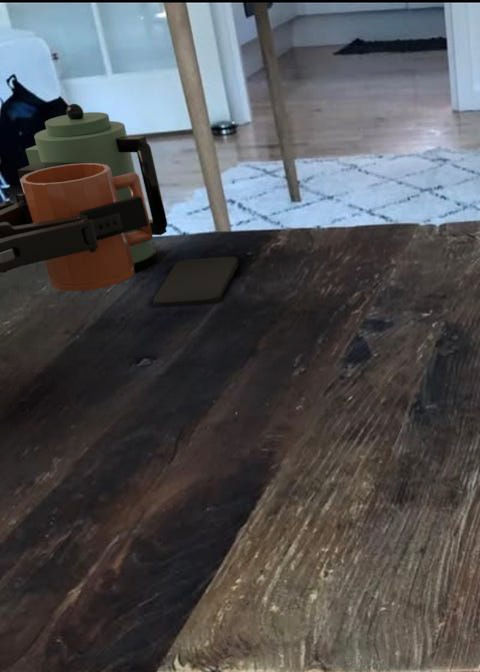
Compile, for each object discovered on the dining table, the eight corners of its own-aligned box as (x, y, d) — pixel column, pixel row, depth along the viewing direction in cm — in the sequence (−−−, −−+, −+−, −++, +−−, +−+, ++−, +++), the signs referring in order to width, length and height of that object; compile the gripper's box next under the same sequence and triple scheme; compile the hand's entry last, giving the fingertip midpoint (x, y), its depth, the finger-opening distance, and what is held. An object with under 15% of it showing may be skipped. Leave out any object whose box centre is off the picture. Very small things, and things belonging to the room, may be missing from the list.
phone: (149, 303, 120) (176, 260, 132) (151, 311, 120) (178, 267, 132) (218, 298, 119) (239, 255, 131) (220, 306, 120) (240, 262, 132)
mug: (79, 296, 109) (48, 188, 103) (35, 282, 114) (4, 178, 108) (180, 263, 116) (157, 160, 110) (135, 251, 121) (110, 152, 115)
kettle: (20, 285, 131) (-30, 120, 120) (87, 250, 141) (45, 95, 131) (138, 289, 127) (96, 119, 116) (197, 253, 137) (164, 93, 126)
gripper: (-133, 287, 108) (72, 229, 121) (-29, 328, 96) (186, 258, 109) (-164, 206, 104) (52, 155, 117) (-60, 238, 92) (169, 177, 105)
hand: (117, 205), depth 113 cm, fingers closed on mug, 8 cm apart
